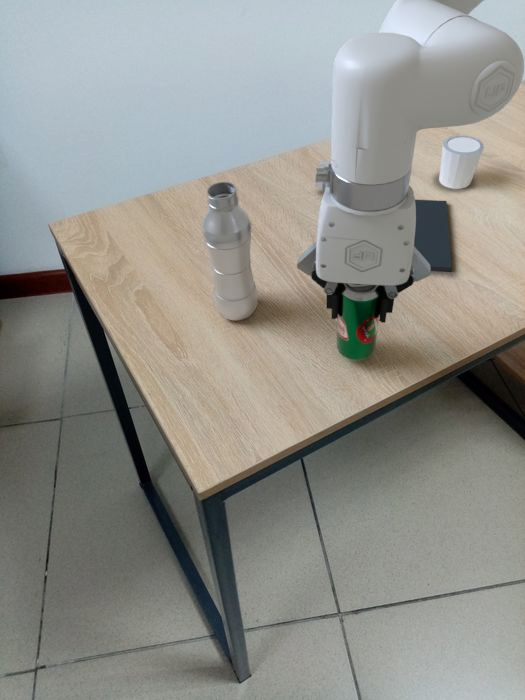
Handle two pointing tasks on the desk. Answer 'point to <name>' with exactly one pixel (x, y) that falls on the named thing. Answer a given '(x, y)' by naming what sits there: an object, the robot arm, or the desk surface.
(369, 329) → the soda can
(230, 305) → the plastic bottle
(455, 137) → the shot glass
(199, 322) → the desk surface
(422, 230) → the mat
